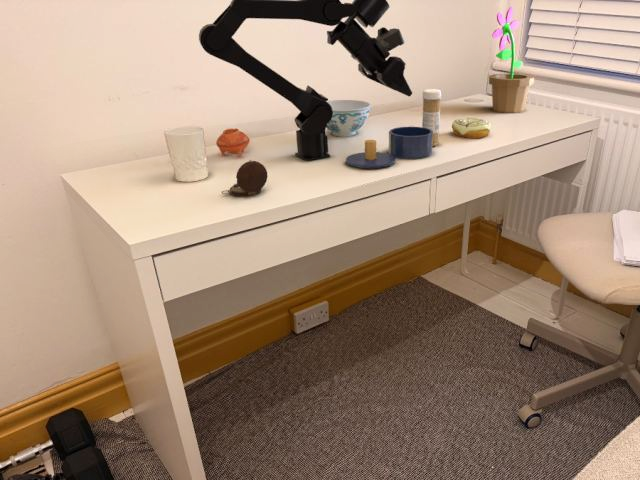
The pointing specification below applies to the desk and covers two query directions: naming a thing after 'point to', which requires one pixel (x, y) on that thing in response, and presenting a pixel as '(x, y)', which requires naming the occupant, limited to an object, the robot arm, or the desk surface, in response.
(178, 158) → the white cup
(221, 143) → the pot
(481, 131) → the decorated donut
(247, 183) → the compass
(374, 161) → the tin lid
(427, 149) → the tin
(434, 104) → the sprinkles bottle
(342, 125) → the chinaware
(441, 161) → the desk surface
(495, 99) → the flowerpot
